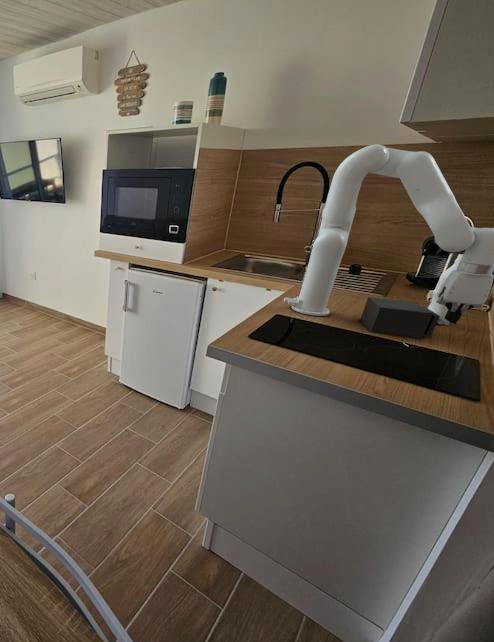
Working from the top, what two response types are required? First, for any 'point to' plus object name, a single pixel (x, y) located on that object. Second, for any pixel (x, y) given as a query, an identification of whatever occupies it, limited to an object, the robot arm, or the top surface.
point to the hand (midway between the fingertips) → (450, 322)
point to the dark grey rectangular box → (395, 317)
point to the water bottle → (435, 306)
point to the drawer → (434, 322)
